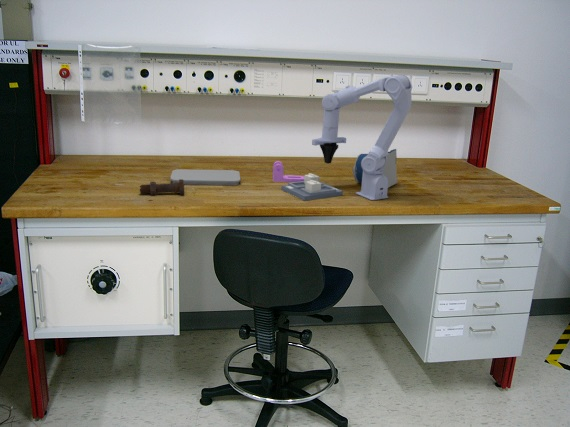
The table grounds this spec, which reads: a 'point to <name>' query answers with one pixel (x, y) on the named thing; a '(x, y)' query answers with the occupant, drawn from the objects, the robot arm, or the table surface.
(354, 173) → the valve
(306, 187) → the near tab
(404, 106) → the robot arm
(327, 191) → the switch bank
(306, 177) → the far tab
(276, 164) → the bracket
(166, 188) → the bolt
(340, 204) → the table surface
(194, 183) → the tablet
